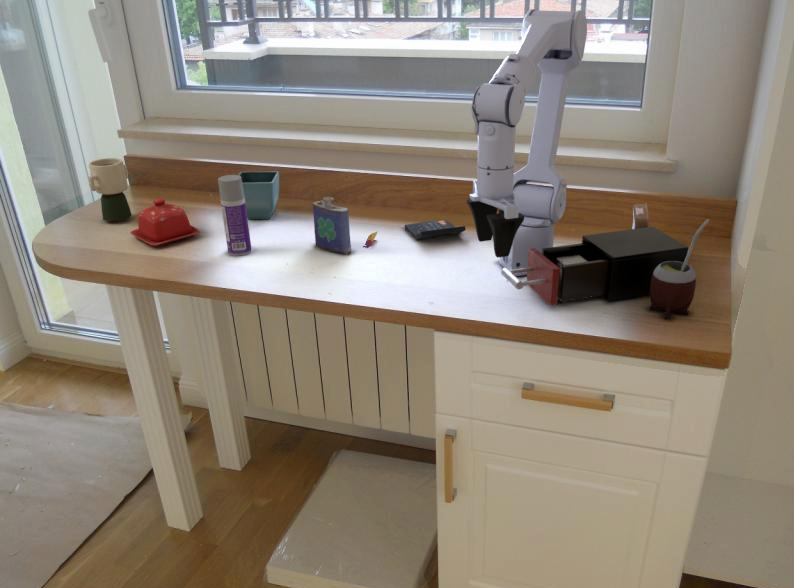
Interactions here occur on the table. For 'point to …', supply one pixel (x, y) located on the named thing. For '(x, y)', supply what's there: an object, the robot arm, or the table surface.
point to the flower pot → (260, 193)
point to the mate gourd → (674, 284)
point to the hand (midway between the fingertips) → (493, 248)
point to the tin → (640, 216)
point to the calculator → (433, 229)
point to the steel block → (566, 261)
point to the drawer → (564, 273)
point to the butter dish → (163, 224)
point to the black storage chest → (635, 259)
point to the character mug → (110, 187)
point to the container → (234, 215)
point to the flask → (331, 227)
